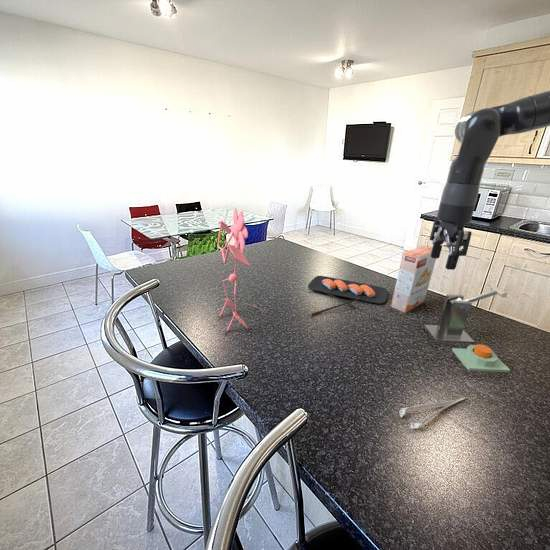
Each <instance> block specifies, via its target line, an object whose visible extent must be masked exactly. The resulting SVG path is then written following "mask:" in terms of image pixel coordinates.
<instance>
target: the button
mask: <svg viewBox="0 0 550 550" xmlns="http://www.w3.org/2000/svg"><path fill="white" fill-rule="evenodd" d="M475 345H476V346H475V349H474V353H475V354H476V355H478V356H480V357H483V358H490V356H491V353H492V351H493V350H492V348H491V347H489V346H487V345H485V344H481V343H480V344H479V343H478V344H475Z"/></svg>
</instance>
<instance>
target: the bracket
mask: <svg viewBox="0 0 550 550" xmlns="http://www.w3.org/2000/svg"><path fill="white" fill-rule="evenodd" d="M457 298H461V299H462V300H464V299H465V298H464V295H463V294H446V296H445V299H444V302H443V306H442V310H441V312H440V313H441V314H440V316H439V320H438V323H437V325H436V324H423V326H424V328H425V329H426V330H427V331H428V334H430V335H431V337H432V338H433V339H434V341H435V342H450V343H472V344H473V343H474V344H475V343H476V340H474V339H473V338H472V337H471V336H470V335H469V334H468V333H467V332H466V331H465V329H464V328H465V327H466V326H465V325H466V323H467V319H468V316H469V313H470V310H471V307H472V305H473V302H466V301H454V303H453V306H452V308H451V304H450V300H454V299H457Z"/></svg>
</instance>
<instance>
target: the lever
mask: <svg viewBox="0 0 550 550" xmlns="http://www.w3.org/2000/svg"><path fill="white" fill-rule="evenodd" d="M489 289H490V290H489V291H485V292H482V293H479V294H476V295H473V296H470V297H466V298H463V300H462V299H461V298H457V299H454V300H450V304H451V308H452V306H453V303H454V301H466V302H471V303H475V302H478V301H480V300H484V299H487V298H489V297H493V296H497V295H498V296H500V297H501V298H506V297H507V296H508V293H507V292H505V291H504V290H503V289H501V288H499V286H496V285H495V284H492V285H490V286H489Z"/></svg>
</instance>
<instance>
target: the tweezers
mask: <svg viewBox="0 0 550 550" xmlns="http://www.w3.org/2000/svg"><path fill="white" fill-rule="evenodd" d="M466 399H467V398H466V396H464V397H461V398H456V399H452V400H447V401H440V402H433V403H423V404H417V405H413V406H407V407H401V408H400V410H399V417H400V418H403V417H404V416H405V415H406V414H407V413H408V414H409V413H412V412H418V411H424V410H430V409H437V408H439V409H438V410H437V411H435V412H433V413H432V414H430V415H428V416H426V417H425V418H423V419H422V420H421V421H420V422H412V421H411V422H410V427H409V428H411V429H412V430H415V429H419V428H421V427H422V425H423V424H424V423H426V422H427V421H428V420H430V419H431V418H432V417H434V416H436V415H438V414H440V413H441V412H442V411H444V410H445V409H447V408H449V407H451V406H453V405H455V404H457V403H459V402H461V401H463V400H466Z"/></svg>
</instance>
